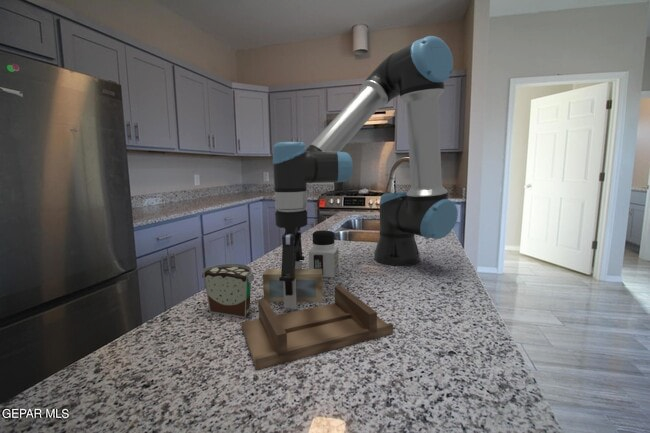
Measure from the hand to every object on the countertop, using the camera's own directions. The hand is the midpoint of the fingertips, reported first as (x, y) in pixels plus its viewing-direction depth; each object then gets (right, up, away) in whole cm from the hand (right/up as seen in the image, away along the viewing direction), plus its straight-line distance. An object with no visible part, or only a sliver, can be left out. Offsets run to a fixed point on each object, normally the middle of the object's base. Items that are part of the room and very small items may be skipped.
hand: (294, 295), depth 77 cm
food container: (-13, -2, -5) cm, 14 cm away
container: (+7, +2, +18) cm, 20 cm away
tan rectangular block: (0, -1, 0) cm, 1 cm away
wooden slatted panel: (+6, -3, -15) cm, 17 cm away
